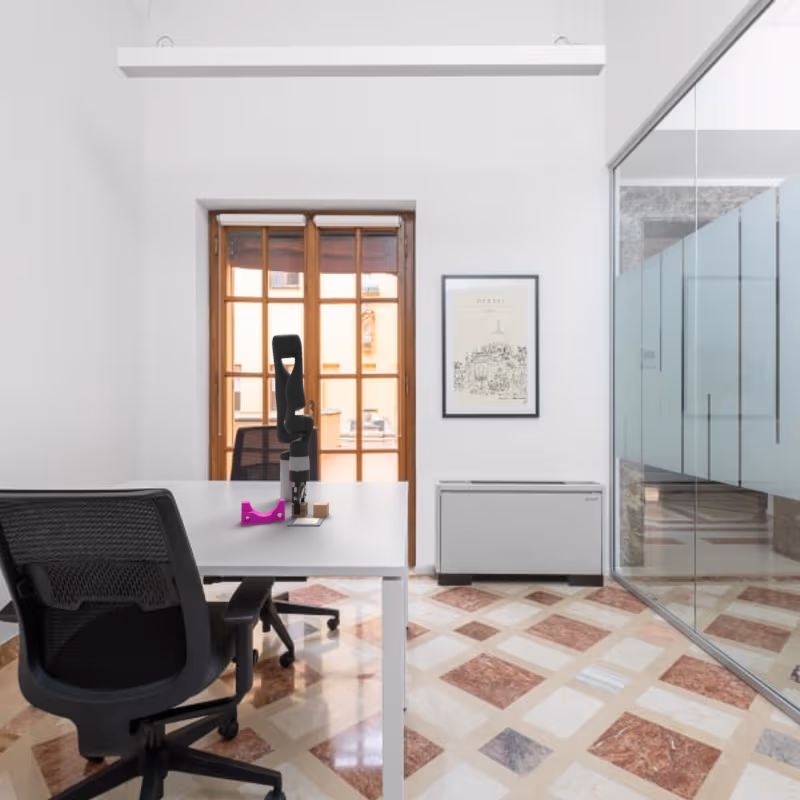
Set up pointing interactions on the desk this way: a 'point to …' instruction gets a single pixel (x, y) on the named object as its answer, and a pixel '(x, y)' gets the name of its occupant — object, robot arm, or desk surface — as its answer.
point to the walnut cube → (301, 510)
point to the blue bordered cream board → (306, 521)
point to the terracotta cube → (321, 509)
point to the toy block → (260, 517)
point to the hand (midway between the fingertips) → (299, 511)
